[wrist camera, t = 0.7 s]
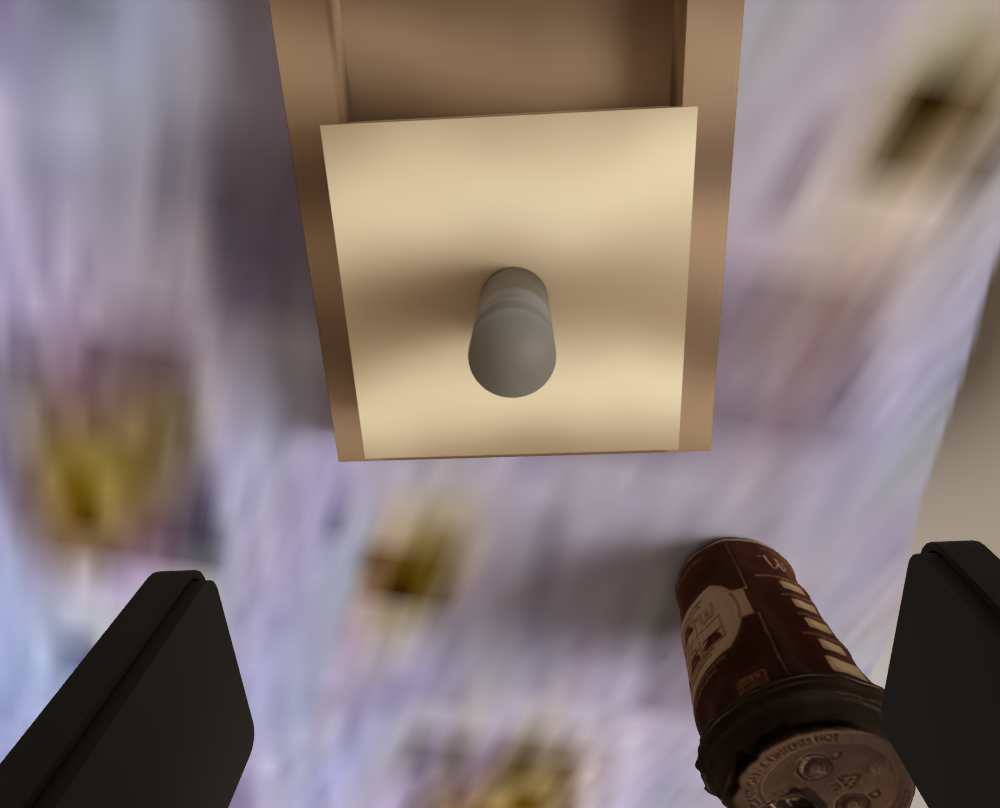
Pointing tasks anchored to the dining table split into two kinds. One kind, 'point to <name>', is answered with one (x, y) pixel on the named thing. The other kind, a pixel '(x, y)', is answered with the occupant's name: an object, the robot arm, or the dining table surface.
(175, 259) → the dining table surface
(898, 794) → the coffee cup
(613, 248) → the square knob plate
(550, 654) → the dining table surface
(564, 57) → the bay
